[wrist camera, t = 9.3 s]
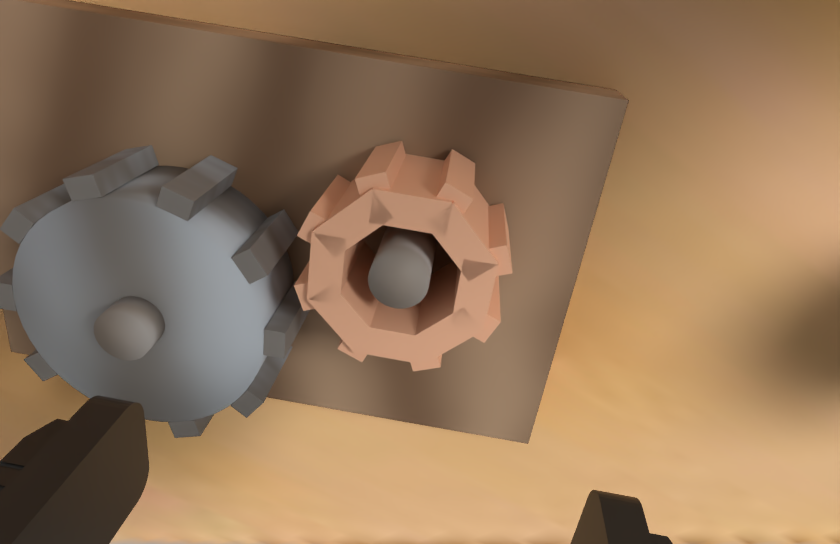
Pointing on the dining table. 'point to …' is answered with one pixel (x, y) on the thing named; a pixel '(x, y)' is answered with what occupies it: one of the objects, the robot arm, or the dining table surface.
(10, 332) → the gear board
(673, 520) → the dining table surface
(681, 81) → the dining table surface
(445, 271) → the loose gear
